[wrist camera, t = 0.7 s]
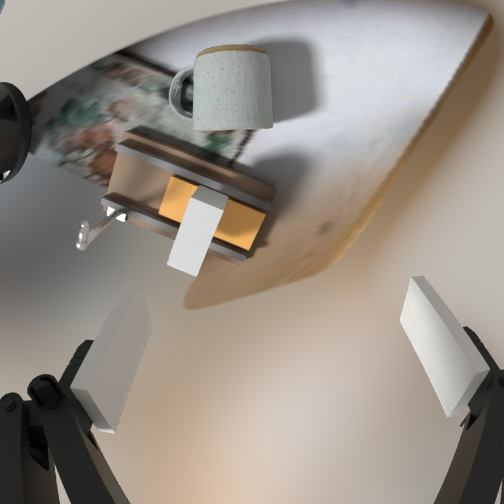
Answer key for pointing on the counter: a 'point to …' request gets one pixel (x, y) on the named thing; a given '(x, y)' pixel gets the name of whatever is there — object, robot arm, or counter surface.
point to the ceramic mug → (227, 89)
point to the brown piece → (156, 181)
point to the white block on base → (205, 222)
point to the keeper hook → (96, 228)
